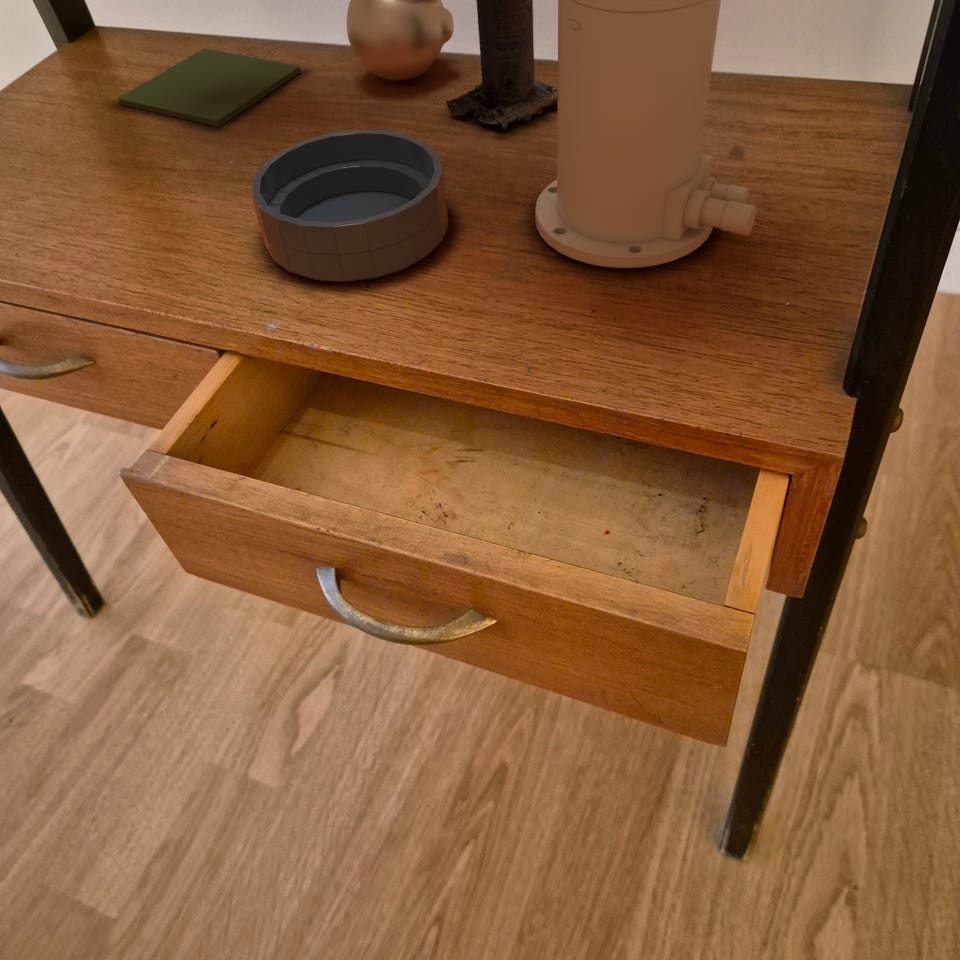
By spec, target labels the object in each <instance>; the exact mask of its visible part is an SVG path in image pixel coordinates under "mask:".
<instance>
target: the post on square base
mask: <svg viewBox="0 0 960 960" xmlns="http://www.w3.org/2000/svg"><path fill="white" fill-rule="evenodd" d="M475 1H476V11H477V28H478V29H477V30H478V42H479V54H480V55H479V57H480V66H481V68H480V69H481V83H479V84H477V85H474V86H475V87H474V88H472V89H471V90H467V91H466V93H463V94H460V95H458V97H456V98H454V99H450V100H449V99H448V100H446V101H445V103H446V106H445V108H448V110H449V111H450V112H449V114H450V115H451V116H452V115H455V117H458V116H461V117H462V118H464V116H466V114H467V113H469V114H470V113H471V110H473V117H474V119H476V118H477V120H478V122H482V124H483V125H485V126H486V125H500V124H501V130H504V131H506V132H508V127H509V126H508V125H509V124H513V123H515V122H516V121H517V122H518V123H519V122H520V121H521V120H525V122H528V121H529V122H530V121H531V119H532V117H533V115H535V114H537V113H538V114H539V115H541V114H542V112H543V111H544V110H546V109H547V108H549V107H550V106H551V105H558V88H556V87H554V86H553V85H551V83H546V84H545V83H544V82H542V81H540V80H538V79H536V77H535V47H534V45H535V44H534V43H535V42H534V0H475Z"/></svg>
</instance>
